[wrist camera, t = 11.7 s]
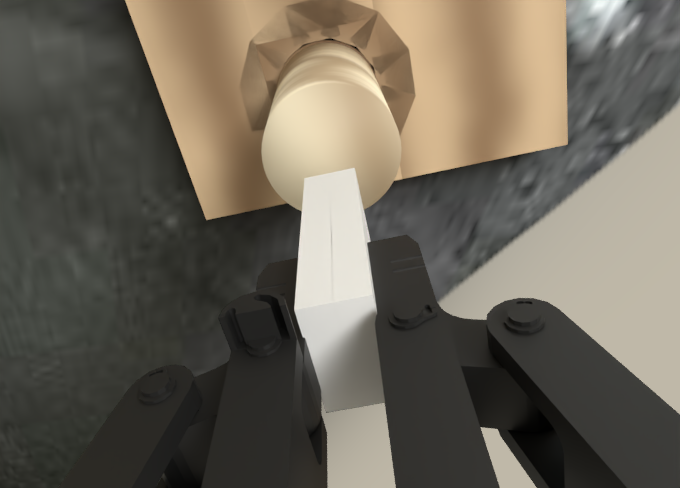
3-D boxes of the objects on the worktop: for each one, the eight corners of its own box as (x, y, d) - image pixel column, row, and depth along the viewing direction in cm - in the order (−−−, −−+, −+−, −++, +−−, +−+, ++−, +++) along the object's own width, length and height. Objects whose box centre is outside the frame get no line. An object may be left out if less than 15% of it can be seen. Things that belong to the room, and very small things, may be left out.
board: (214, 200, 36) (206, 220, 34) (117, -73, 29) (97, -75, 26) (548, 129, 35) (567, 144, 32) (539, -180, 27) (563, -193, 25)
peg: (292, 135, 34) (281, 230, 23) (269, 44, 32) (242, 100, 20) (380, 116, 34) (412, 203, 22) (363, 22, 31) (389, 66, 20)
